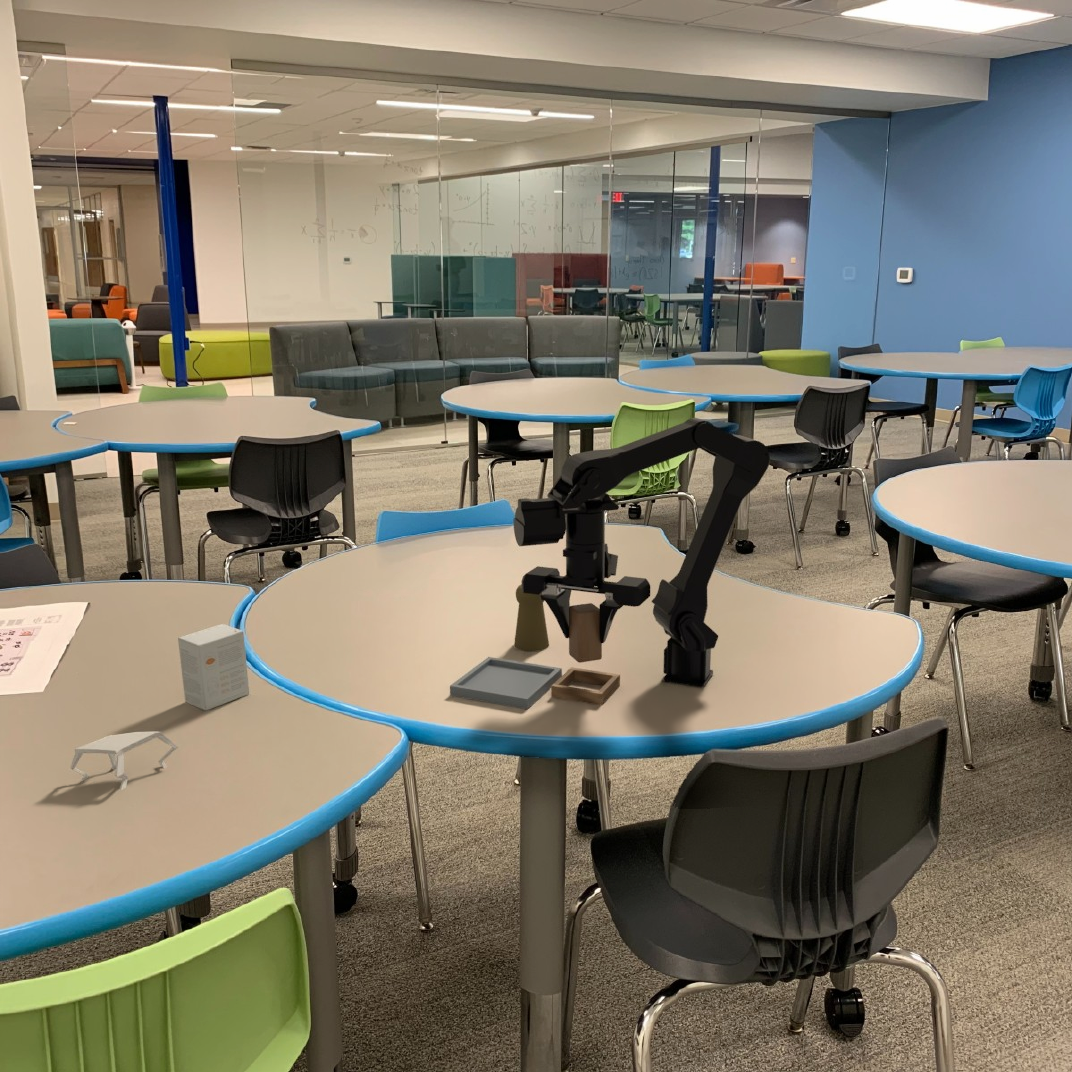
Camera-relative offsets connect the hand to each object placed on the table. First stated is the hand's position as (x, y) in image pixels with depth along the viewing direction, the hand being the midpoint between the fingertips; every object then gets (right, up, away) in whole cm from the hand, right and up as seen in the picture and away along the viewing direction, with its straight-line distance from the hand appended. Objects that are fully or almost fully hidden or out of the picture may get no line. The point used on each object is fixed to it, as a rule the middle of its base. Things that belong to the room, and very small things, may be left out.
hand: (585, 639), depth 153 cm
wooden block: (0, -3, +1) cm, 3 cm away
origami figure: (-60, -15, -22) cm, 66 cm away
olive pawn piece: (-8, -3, +22) cm, 24 cm away
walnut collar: (0, -8, +2) cm, 8 cm away
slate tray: (-12, -8, +4) cm, 15 cm away
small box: (-56, -9, +1) cm, 57 cm away
